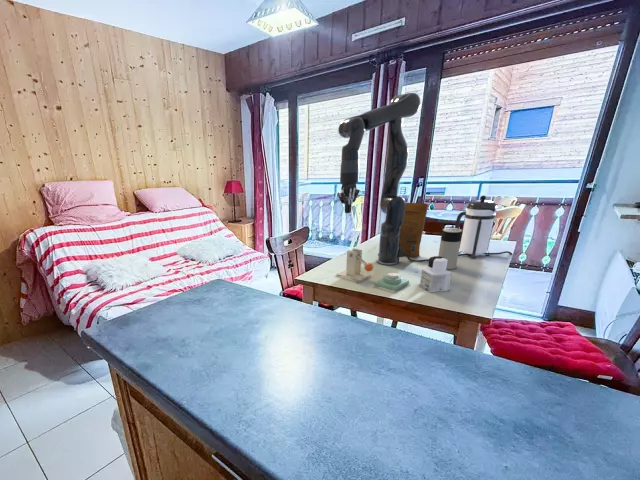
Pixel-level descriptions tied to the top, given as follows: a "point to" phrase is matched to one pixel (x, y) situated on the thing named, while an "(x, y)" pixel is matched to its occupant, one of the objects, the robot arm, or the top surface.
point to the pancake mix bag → (413, 228)
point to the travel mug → (450, 246)
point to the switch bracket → (353, 266)
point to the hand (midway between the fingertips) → (347, 212)
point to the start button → (392, 276)
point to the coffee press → (477, 226)
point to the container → (436, 275)
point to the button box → (391, 283)
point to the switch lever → (364, 263)
